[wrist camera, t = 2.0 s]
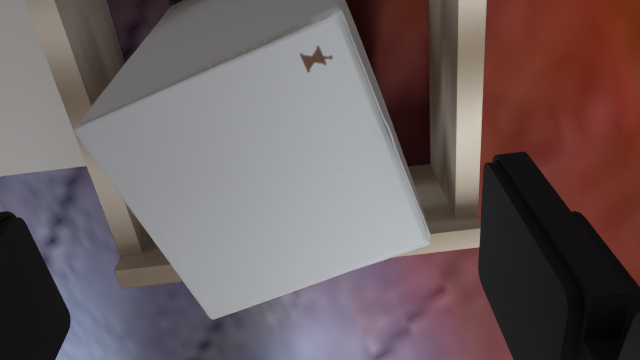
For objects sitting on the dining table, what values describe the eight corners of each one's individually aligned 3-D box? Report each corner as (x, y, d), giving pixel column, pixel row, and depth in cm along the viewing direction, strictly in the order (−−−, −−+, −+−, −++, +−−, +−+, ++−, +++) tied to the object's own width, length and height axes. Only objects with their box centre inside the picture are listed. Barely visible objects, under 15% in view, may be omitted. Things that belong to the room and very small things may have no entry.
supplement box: (164, 4, 24) (57, 122, 13) (321, -66, 23) (349, -2, 12) (240, 143, 27) (206, 328, 16) (378, 89, 26) (441, 248, 15)
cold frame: (449, 177, 29) (483, 246, 24) (151, 213, 29) (121, 288, 24) (452, -181, 21) (505, -197, 16) (41, -128, 21) (-40, -125, 16)
